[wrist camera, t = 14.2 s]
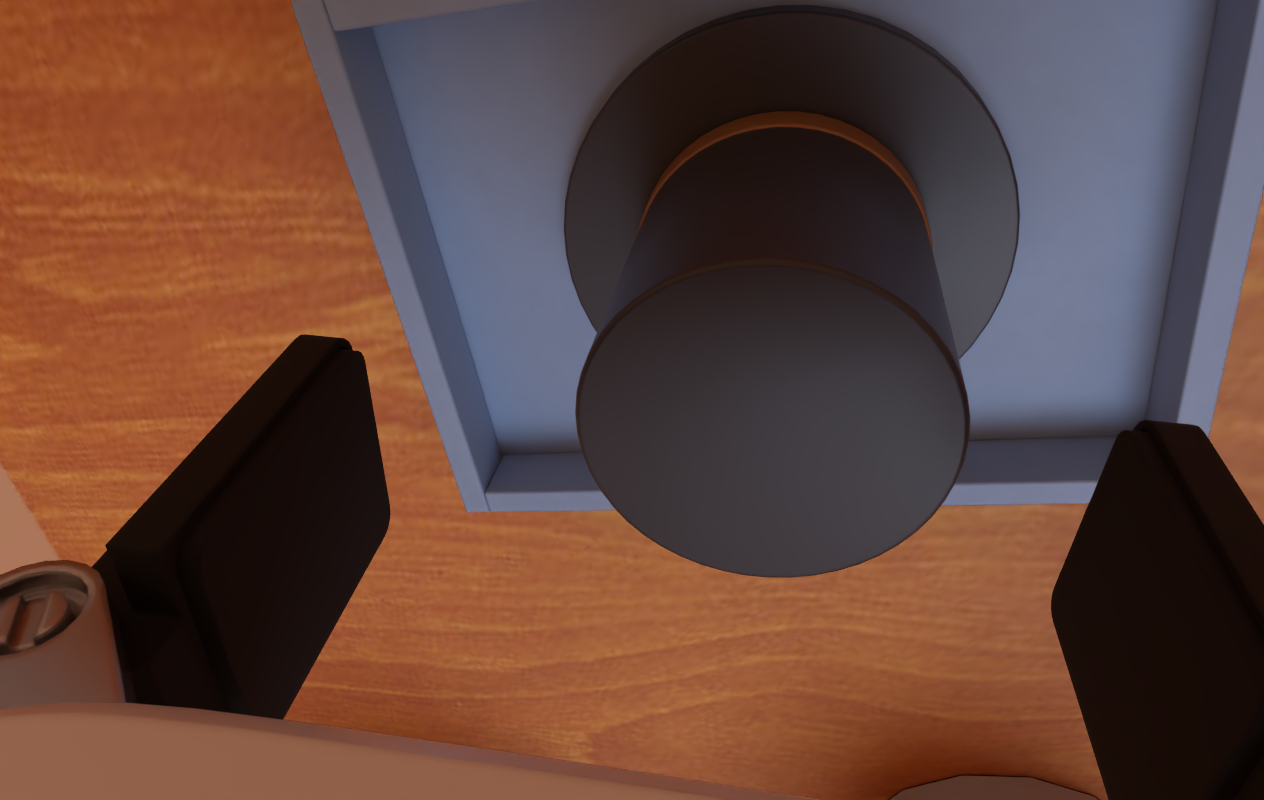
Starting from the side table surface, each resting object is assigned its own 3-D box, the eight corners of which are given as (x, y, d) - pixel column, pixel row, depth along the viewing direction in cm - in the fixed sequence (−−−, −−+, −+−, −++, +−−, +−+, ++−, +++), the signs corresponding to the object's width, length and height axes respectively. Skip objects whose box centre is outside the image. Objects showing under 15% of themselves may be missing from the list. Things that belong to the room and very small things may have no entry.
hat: (500, 279, 19) (372, 474, 13) (727, -106, 14) (670, -44, 9) (819, 477, 20) (819, 724, 15) (1121, 186, 16) (1279, 393, 10)
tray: (491, 461, 22) (465, 513, 21) (340, -20, 16) (287, -1, 15) (1162, 442, 19) (1194, 503, 17) (1280, -182, 13) (1347, -178, 11)
